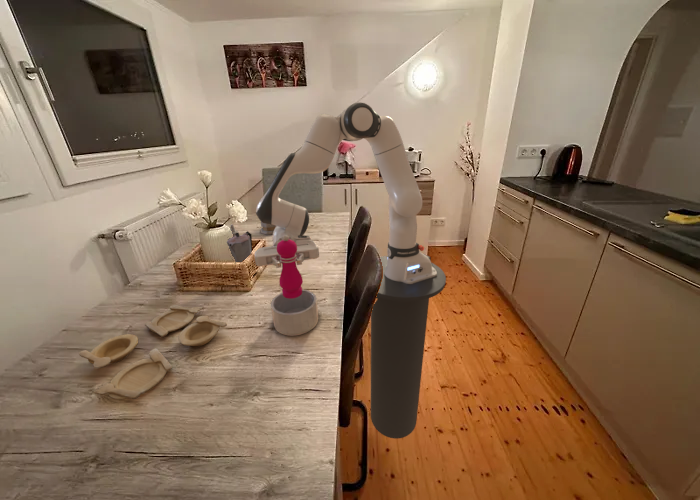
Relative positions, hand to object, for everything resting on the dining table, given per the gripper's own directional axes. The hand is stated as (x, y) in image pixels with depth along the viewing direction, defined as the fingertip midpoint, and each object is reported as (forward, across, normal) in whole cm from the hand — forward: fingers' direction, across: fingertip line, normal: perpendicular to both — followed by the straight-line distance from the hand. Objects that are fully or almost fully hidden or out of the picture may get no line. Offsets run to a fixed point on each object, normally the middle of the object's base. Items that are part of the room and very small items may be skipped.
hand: (289, 264), depth 85 cm
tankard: (-101, -6, +22) cm, 103 cm away
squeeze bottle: (-60, -23, +22) cm, 68 cm away
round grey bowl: (-1, 0, +22) cm, 22 cm away
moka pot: (-42, -18, +22) cm, 50 cm away
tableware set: (-1, -41, +22) cm, 47 cm away
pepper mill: (-1, 0, +11) cm, 11 cm away
